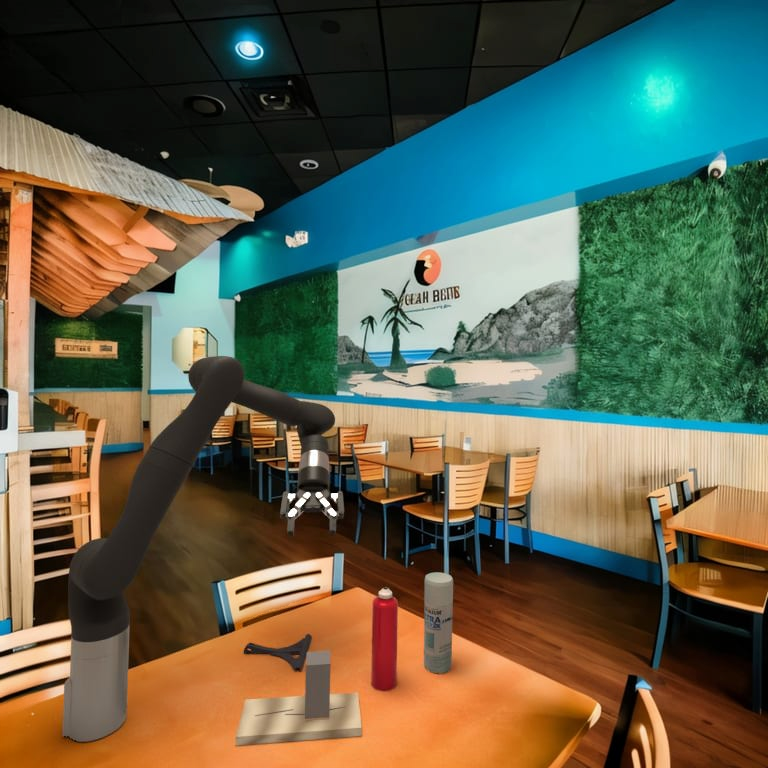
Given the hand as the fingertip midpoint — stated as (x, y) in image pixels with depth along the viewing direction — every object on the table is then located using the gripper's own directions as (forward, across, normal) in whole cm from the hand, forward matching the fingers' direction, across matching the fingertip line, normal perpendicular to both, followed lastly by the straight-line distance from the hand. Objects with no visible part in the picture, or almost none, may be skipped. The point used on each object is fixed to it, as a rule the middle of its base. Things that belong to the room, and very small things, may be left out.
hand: (311, 534), depth 102 cm
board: (+31, -1, +12) cm, 34 cm away
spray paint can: (+21, +29, +23) cm, 42 cm away
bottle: (+24, +16, +19) cm, 35 cm away
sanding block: (+30, +2, +11) cm, 32 cm away
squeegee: (+15, -8, +30) cm, 34 cm away
